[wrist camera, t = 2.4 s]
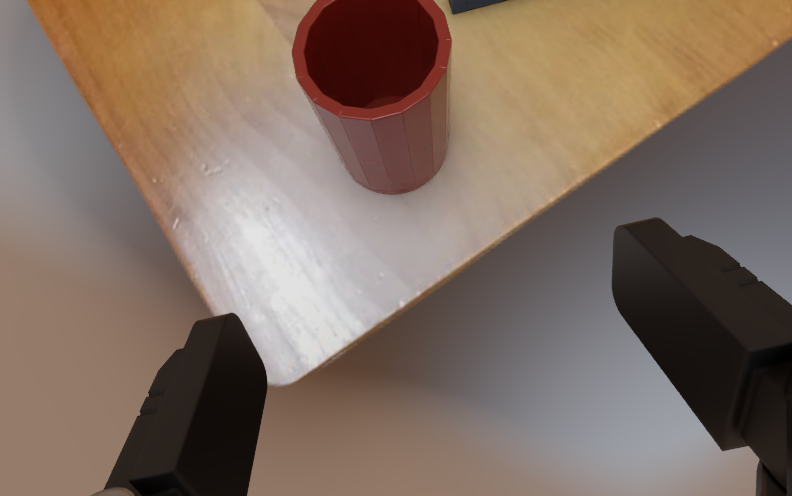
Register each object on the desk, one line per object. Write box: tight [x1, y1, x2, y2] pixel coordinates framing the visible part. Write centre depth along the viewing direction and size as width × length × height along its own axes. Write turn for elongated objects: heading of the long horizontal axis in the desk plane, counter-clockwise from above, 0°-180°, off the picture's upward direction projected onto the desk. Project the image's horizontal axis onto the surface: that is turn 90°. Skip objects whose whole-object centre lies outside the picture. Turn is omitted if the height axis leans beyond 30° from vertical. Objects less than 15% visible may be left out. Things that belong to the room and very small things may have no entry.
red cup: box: [292, 0, 452, 194], centre depth 23 cm, size 6×6×9 cm
